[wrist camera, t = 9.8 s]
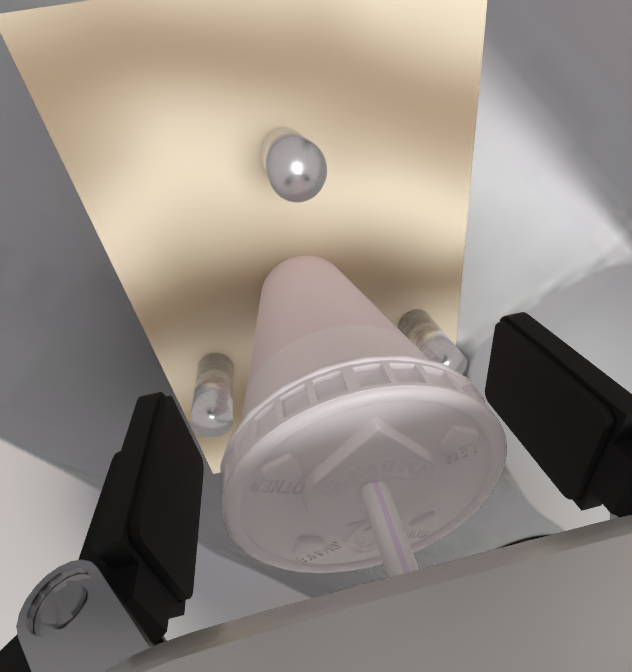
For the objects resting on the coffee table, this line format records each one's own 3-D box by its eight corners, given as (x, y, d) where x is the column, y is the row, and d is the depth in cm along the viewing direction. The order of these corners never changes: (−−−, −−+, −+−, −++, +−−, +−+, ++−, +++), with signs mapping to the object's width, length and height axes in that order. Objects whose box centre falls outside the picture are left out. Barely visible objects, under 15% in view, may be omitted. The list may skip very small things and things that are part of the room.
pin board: (437, 400, 23) (480, 467, 19) (214, 452, 22) (209, 534, 18) (466, -45, 12) (585, -114, 8) (19, 23, 11) (-109, -16, 7)
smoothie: (380, 214, 15) (909, 672, 3) (372, 347, 18) (607, 791, 7) (214, 229, 14) (104, 918, 2) (239, 365, 17) (247, 904, 6)
